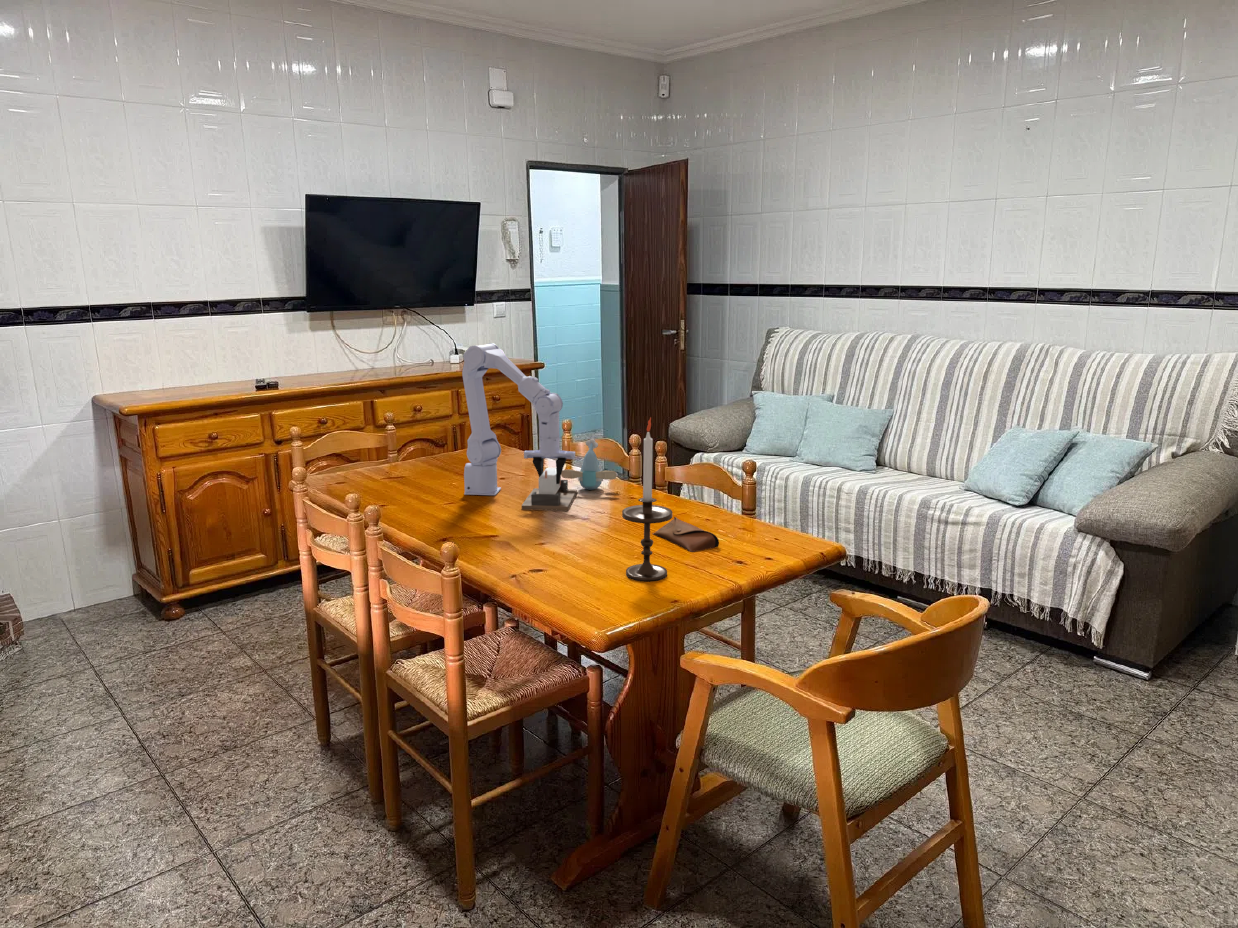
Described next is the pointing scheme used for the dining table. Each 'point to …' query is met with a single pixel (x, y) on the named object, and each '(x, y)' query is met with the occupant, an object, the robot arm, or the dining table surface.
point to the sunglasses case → (687, 536)
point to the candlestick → (647, 520)
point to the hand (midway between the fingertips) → (550, 483)
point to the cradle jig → (551, 499)
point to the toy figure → (590, 470)
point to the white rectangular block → (548, 482)
